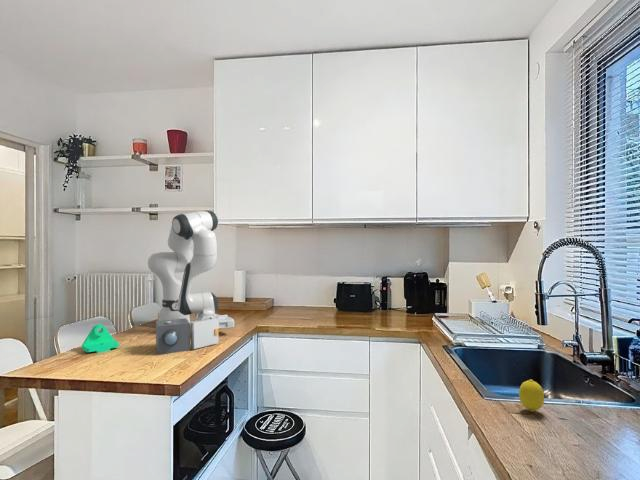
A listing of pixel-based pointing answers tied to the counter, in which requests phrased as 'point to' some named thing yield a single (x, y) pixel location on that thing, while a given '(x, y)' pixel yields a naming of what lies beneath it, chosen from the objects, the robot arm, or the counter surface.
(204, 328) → the side door
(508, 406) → the counter surface
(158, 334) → the camera housing
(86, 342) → the camera mount
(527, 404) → the lemon
